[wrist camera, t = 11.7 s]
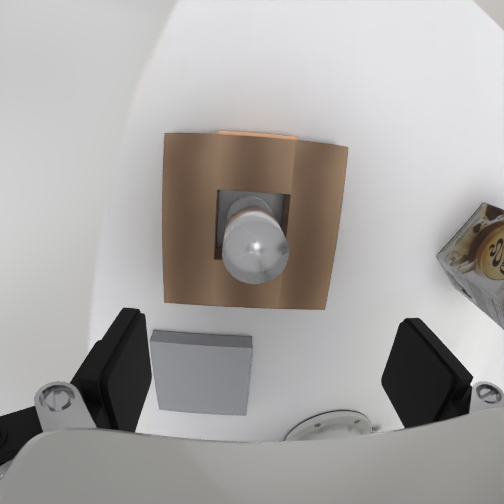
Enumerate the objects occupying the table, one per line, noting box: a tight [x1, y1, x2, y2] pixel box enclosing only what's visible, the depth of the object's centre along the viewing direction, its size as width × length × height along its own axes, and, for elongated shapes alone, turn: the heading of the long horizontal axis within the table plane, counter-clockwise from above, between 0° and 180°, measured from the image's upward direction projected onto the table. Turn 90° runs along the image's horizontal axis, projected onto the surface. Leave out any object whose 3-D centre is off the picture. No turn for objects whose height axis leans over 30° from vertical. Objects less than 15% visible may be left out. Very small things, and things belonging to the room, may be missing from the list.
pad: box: [150, 330, 252, 415], centre depth 32 cm, size 10×10×2 cm
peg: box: [222, 196, 289, 284], centre depth 23 cm, size 4×4×9 cm
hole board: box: [162, 131, 348, 310], centre depth 26 cm, size 14×14×3 cm
